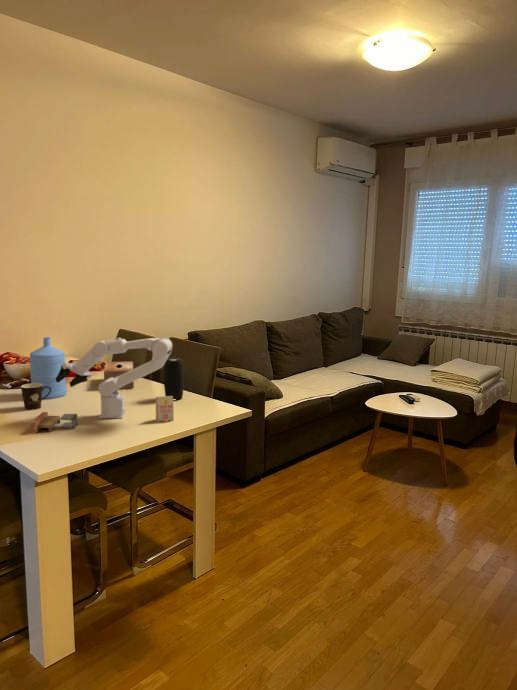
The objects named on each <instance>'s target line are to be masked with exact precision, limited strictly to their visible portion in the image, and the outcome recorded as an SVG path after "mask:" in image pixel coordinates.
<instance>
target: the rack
mask: <svg viewBox="0 0 517 690" xmlns="http://www.w3.org/2000/svg"><path fill="white" fill-rule="evenodd" d="M56 423H57V424H60V423H61V415H49V414H48V411H42V412H41V413H40V414H38V416H36V417H35V418H34V419H33V420H32V421H31V422H30V434H38V433H39V431H41V429H42V428H45V429H48V432H49V433H52V432H53V427H54V426H55V424H56Z"/></svg>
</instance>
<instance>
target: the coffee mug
mask: <svg viewBox="0 0 517 690" xmlns="http://www.w3.org/2000/svg"><path fill="white" fill-rule="evenodd" d="M44 388H49V389H50V392H51V388H50V387H48V386H45V387H43V388H42V384H38V383H32V384H31V383H25V384H22V385H21V386H20V390H21V395H22V400H23V405H24V410H26V411H27V410H28V411H34V410H39V409H41V408H42V401H43V400H45V399H44V398H46V397H47V396H48V395H49V394H50V392H49V393H48V394H47V395H46V396H45V397H43V398H42V391H43V389H44ZM41 398H42V399H41Z"/></svg>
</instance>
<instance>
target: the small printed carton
mask: <svg viewBox="0 0 517 690" xmlns="http://www.w3.org/2000/svg"><path fill="white" fill-rule="evenodd" d="M156 420H157V421H164V422H167V421H166V420H174V400H173V396H155V421H156ZM157 421H156V422H157Z"/></svg>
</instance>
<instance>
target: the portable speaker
mask: <svg viewBox="0 0 517 690" xmlns="http://www.w3.org/2000/svg"><path fill="white" fill-rule="evenodd" d="M163 367H164V368H163V386H164V395H165V396H173V399H177V400H178V399H181V398H182V399H183V395H184V389H185V369H184V368H185V367H184V364H183V359H182V358H180V357H177V356H176V357H175V356H171V357H168V358H167V360H166V362H165V364H164V366H163Z"/></svg>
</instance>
